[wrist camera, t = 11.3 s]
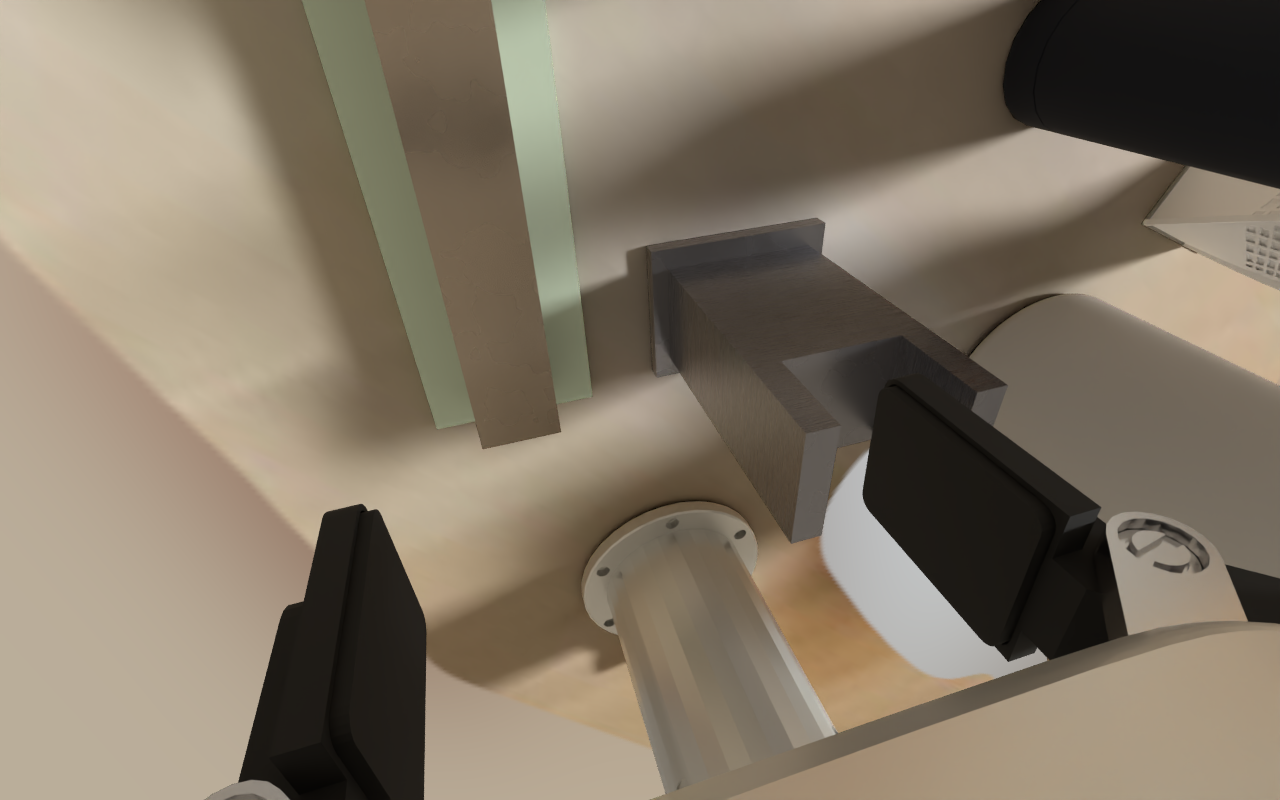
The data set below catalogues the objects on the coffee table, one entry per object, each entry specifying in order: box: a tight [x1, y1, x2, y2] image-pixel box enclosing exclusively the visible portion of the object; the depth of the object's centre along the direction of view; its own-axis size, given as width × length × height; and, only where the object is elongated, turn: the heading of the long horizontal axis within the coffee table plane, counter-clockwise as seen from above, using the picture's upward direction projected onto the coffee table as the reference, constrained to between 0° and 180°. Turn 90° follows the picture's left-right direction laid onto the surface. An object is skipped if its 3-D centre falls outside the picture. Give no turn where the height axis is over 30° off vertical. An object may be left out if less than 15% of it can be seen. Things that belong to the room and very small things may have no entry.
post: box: [646, 218, 1008, 544], centre depth 26 cm, size 7×9×14 cm
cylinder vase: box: [969, 294, 1280, 578], centre depth 32 cm, size 12×12×25 cm
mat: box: [302, 0, 593, 430], centre depth 24 cm, size 26×8×1 cm, turn 2°
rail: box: [364, 0, 561, 449], centre depth 22 cm, size 24×4×4 cm, turn 2°
